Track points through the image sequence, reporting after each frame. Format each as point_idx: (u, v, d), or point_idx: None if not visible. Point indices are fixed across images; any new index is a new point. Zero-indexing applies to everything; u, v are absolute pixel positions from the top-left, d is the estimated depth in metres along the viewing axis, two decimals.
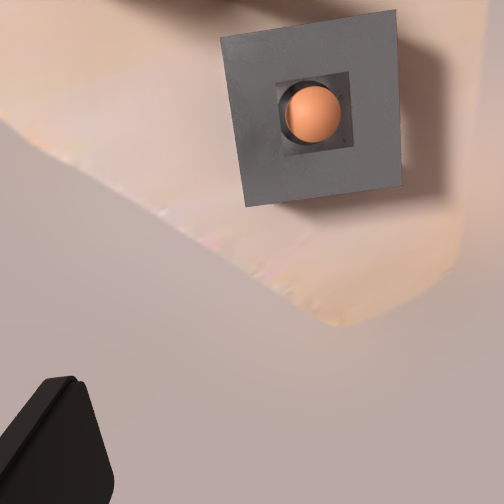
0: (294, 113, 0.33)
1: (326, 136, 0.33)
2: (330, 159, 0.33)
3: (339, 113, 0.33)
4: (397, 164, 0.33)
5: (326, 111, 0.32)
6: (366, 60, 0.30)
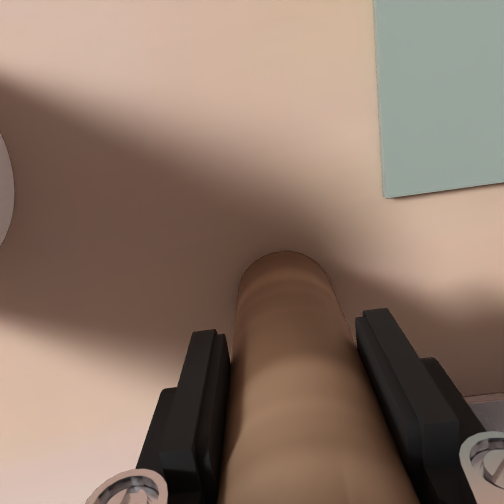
0: None
1: None
2: None
3: None
4: None
5: None
6: None
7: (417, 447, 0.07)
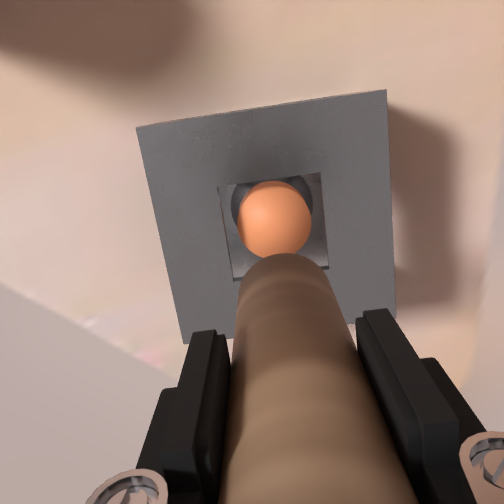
0: (247, 223, 0.24)
1: (291, 251, 0.24)
2: None
3: (309, 222, 0.24)
4: (389, 292, 0.24)
5: (291, 220, 0.24)
6: (344, 157, 0.21)
7: (417, 447, 0.07)
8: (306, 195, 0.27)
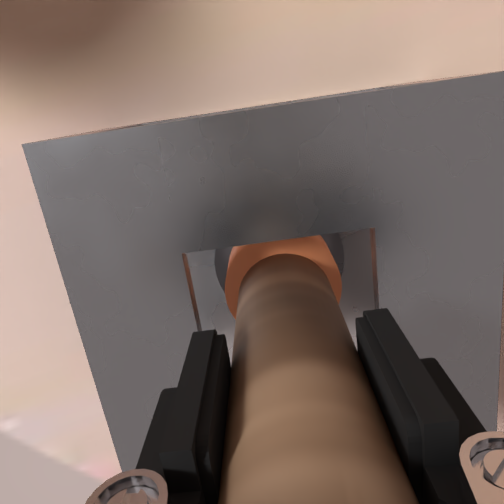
0: None
1: None
2: None
3: (338, 287, 0.15)
4: (486, 428, 0.14)
5: None
6: (421, 201, 0.11)
7: (417, 447, 0.07)
8: (335, 245, 0.17)
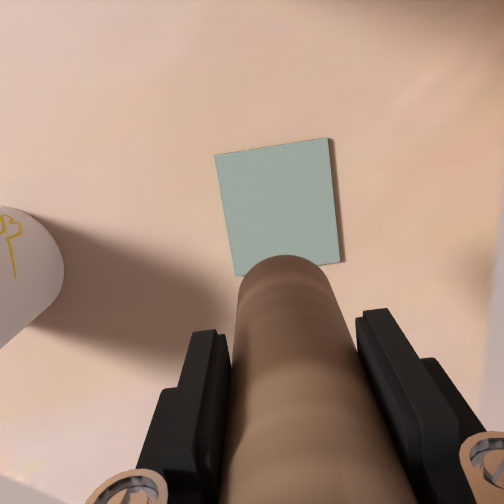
0: None
1: None
2: None
3: None
4: None
5: None
6: None
7: (417, 447, 0.07)
8: None
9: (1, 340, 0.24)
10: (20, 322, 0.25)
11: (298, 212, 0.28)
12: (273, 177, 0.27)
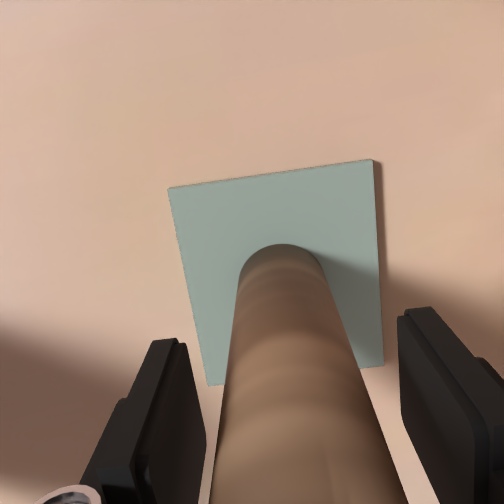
0: None
1: None
2: None
3: None
4: None
5: None
6: None
7: (484, 450, 0.06)
8: None
9: None
10: None
11: None
12: (273, 229, 0.15)
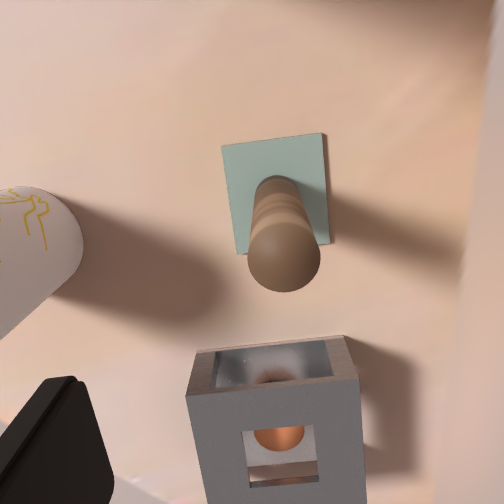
0: (260, 430, 0.34)
1: (290, 447, 0.35)
2: (296, 491, 0.33)
3: (303, 430, 0.34)
4: (362, 496, 0.33)
5: (291, 429, 0.34)
6: (330, 416, 0.31)
7: None
8: None
9: (34, 303, 0.27)
10: (49, 289, 0.29)
11: None
12: (273, 167, 0.31)
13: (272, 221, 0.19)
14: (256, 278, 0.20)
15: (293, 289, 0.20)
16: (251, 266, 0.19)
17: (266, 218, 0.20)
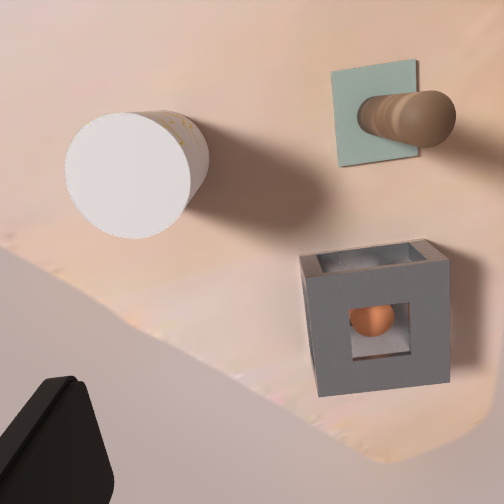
0: (357, 317, 0.41)
1: (381, 332, 0.41)
2: (391, 363, 0.39)
3: (393, 317, 0.41)
4: (446, 367, 0.39)
5: (382, 316, 0.41)
6: (424, 294, 0.37)
7: None
8: None
9: None
10: (198, 187, 0.35)
11: None
12: (373, 89, 0.37)
13: (417, 93, 0.26)
14: (405, 136, 0.26)
15: (433, 145, 0.26)
16: (402, 126, 0.26)
17: (407, 95, 0.27)
